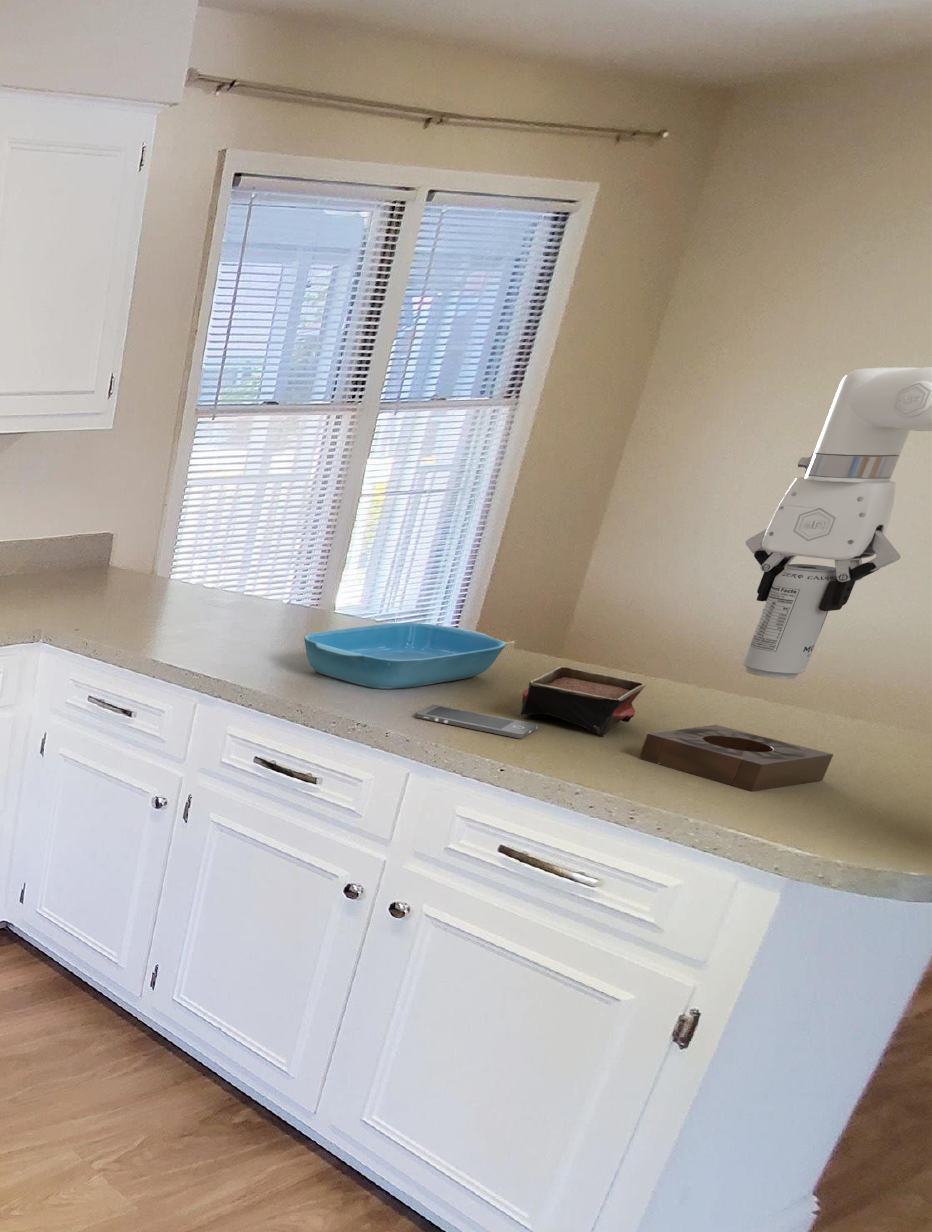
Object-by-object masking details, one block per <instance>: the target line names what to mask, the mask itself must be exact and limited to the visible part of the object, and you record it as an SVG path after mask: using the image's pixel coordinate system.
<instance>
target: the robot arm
mask: <svg viewBox="0 0 932 1232" xmlns="http://www.w3.org/2000/svg"><path fill="white" fill-rule="evenodd" d="M910 431H913V432H915V431H916V432H932V366H926V367H905V366H904V367H901V366H900V367H898V366H897V367H892V366H891V367H864V368H858V369H854V370H852V371H849V372H848V373H846V374H845V375H844V376H843V378H842V379H841V380H840V383H839V385H838V388H837V389H836V392H835V396H834V398H833V401H832V404H831V406H830V408H829V411H828V415H827V416H826V420H825V422H824V425H823V427H822V430H821V433H820V436H819V439H818V441H817V443H816V447H815V449H814V451H813V452H812V453H811V455H810V456H809V457H808V456H807V457H806V456H803V457H801V458H800V459H799V460H798V462H797V468H802V469H805V470H804V474H805V476H804V477H803V476H802V477H796V478H795V479H794V480H793V482H792V483H791V485H790V486H789V487H788V489H787V491H785V494H784V495H783V497H782V498H781V501H779V504H778V506H777V508H776V509H775V512H774V514H773V516H772V518H771V519H770V522H769V524H768V527H767V528H765V529H764V530H762V531H760V532H758V533H757V534H755V535H753V536H750V538H748V539H747V540H745V545H746V546H747V548H748V549H749V551H750V552H751V553H752V554H753V557H754V559H755V560H756V561H757V563H758V564H759V565H760V567H759V569H760V571H761V572H763V575H762V577H761V580H760V582H759V584H758V587H757V591H756V594H757V597H756V601H758V602H766V601H767V598H768V595H769V593H770V590H771V587H772V585H773V582H774V579H775V577H776V576H777V575H778V574H779V573H781V572H782V571H783V570H784V569H785V568H786V565H788V564H791V562H792V561H793V560H794V559H795V558H796V557H797V556H798V557H805V558H806V557H807V558H813V559H823V560H831V561H834V566H835V567H834V568H836V576H837V577H836V580H835V581H830V582H829V584H828V586H827V589H826V591H825V594H824V596H823V599H822V601H821V604H820V606H819V609H820V610H821V611H828V612H833V611H840V610H841V609H842V608H843V606H845V605H846V604H847V603H848V601H849V599H850V597H851V593H852V591H853V588H854V586H855V585H856V582H858V581H861V580H862V579H863V578H865V577H866V576H867V577H868V576H869V575H871V574H873V573H875V572H878V571H879V570H880V569H882V568H885V567H887V566H889V565H891V564H893V563H896V562H897V561H899V560H900V559H901V554H900V553H899V552H898V550H897V549H896V548H895V547H894V545H893V544H892V543H891V541H890V540H889V539H888V538H887V537H886V536H885V535H886V532H887V529H888V526H889V522H890V519H891V515H892V511H893V507H894V502H895V496H896V495H895V494H896V481H892V480H891V479H892V476H893V474H894V471H895V469H896V467H897V464H898V462H899V459H900V457H901V453H902V451H903V448H904V446H905V443H906V442H907V439H908V436H909V433H910ZM873 556H874V558H873V559H870V560H869V561H866V562H864V563H863V560H862V559H866V558H870V557H871V558H872V557H873Z"/></svg>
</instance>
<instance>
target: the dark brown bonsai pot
mask: <svg viewBox="0 0 932 1232" xmlns="http://www.w3.org/2000/svg"><path fill="white" fill-rule="evenodd" d="M645 687H646V684H645V683H644V682H641V681H637V680H632V679H628V678H624V677H620V676H615V675H610V674H604V673H601V672H597V671H592V670H585V669H580V668H574V667H570V666H556V667H554V668H552V669H551V670H549V671H548V672H546V673H544V674H542V675H540V676H538V677H536V678H534V679H532V680H530V681H529V682H528V687H527V688H525V689H524V690H523V691H522V695H521V697H522V698H521V709H520V710H521V711H520V712H519V715H518V716H526V715H527V716H528V715H529V716H530V715H545V714H546V715H549V716H552V717H554V718H558V719H561V720H562V721H566V722H569V723H571V724H574V725H577V726H580V727H582V728H585V729H587V730H589V731H590V732H593V733H595V734H596V735H598V736H600V737H603V738H604V737H605V735H606V734H607V733H608V732H609V731H610V730H611V728H613V727H614V726H616V725H617V724H618V723H619V722H625V723H629V722H630V720H631V719H632V718H634V717H635V715H636V709H635V707H634V705H633V702H634V701H635V700H636V698H637V697H638V695H640V693H641V692H642V691H643V690H644V689H645Z"/></svg>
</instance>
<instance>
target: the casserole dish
mask: <svg viewBox="0 0 932 1232" xmlns="http://www.w3.org/2000/svg"><path fill="white" fill-rule="evenodd" d="M303 639H304V646H305V647H304V648H305V652H306V658H307V661H308V663H309V665H310V666H311V668H312V670H314V671H315V672H316V673H318V674H321V675H324V676H326V677H330V678H333V679H335V680H336V679H337V680H339V681H344V682H347V683H351V684H354V685H356V686H357V685H358V686H362V687H366V688H370V689H371V688H372V689H378V690H379V689H380V690H400V689H408V688H416V687H422V686H423V687H424V686H428V685H434V684H441V683H447V682H452V681H453V682H454V681H458V680H465V679H470V678H473V677H475V676H479V675H481V674H483V673H484V672H486V671H487V670H488V669H490V667H491V666H492V665H493V664H494V663H495V661H496V660H497V658H498V656H500V654H501V652H502V651H503V650H504V648H505V647H506V646H507V643H506V642H505V641H503V640H500V639H498V638H495V637H493V636H490V635H488V634H486V633H483V632H480V631H476V630H471V629H467V628H461V627H455V626H448V625H447V626H445V625H437V624H430V623H422V622H420V623H419V622H393V623H392V622H391V623H380V624H374V625H364V626H357V627H356V626H355V627H349V628H339V629H331V630H326V631H325V630H324V631H318V632H312V633H307V634H306V635H304V637H303Z"/></svg>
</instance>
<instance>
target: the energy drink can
mask: <svg viewBox="0 0 932 1232" xmlns="http://www.w3.org/2000/svg"><path fill="white" fill-rule="evenodd" d="M836 577H837V576H836V568H835V567H834V566H828V565H820V564H809V563H808V564H807V563H789V564H788V565H786V567H785V569H784V570H783V571H782V572H781V573H779V574H778V575H777V576H776V577H775V579H774V582H773V585H772V587H771V590H770V593H769V595H768V598H767V601H765V603H764V607H763V609H762V612H761V613H760V617H759V620H758V622H757V625H756V627H755V630H754V633H753V635H752V638H751V641H750V643H749V645H748V648H747V651H746V654H745V657H744V660H743V662H742V665H743V667H745V672H746V673H748V674H750V675H754V676H758V677H763V678H771V679H778V680H779V679H780V680H782V679H783V680H792V679H796V678H797V676H799V675H800V674H803V673H805V671H806V669H807V666H808V664H809V662H810V659H811V656H812V654H813V651H814V648H815V646H816V644H817V641H818V639H819V636H820V634H821V631H822V628H823V627H824V623H825V621H826V618H827V616H828V614H829V611H821V610H820V609H819V606H820V604H821V601H822V599H823V596H824V594H825V591H826V589H827V586H828V584H829V582H830V581H835V580H836Z"/></svg>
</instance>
